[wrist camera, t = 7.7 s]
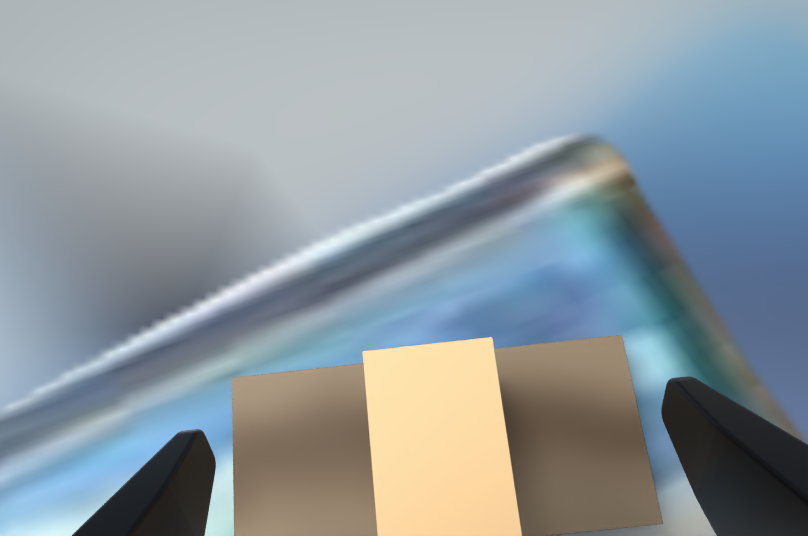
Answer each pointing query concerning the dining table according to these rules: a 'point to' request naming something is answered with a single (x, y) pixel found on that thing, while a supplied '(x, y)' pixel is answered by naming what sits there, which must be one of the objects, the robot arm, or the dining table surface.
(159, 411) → the dining table surface
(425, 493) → the stub
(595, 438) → the stand
